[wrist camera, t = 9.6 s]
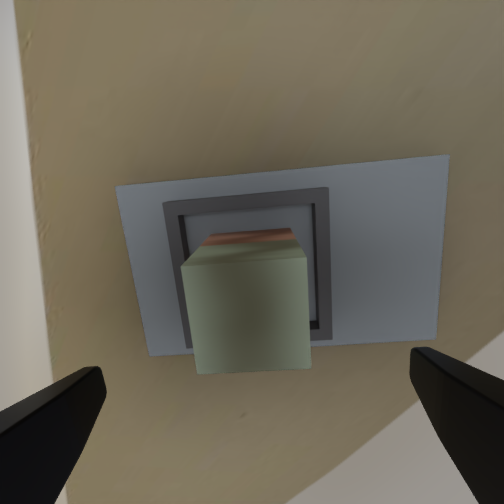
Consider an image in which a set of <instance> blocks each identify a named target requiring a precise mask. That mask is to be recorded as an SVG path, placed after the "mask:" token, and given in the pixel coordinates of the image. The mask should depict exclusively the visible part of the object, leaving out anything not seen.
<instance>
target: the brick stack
mask: <svg viewBox="0 0 504 504" xmlns="http://www.w3.org/2000/svg"><path fill="white" fill-rule="evenodd" d="M181 272H182V279H183V285H184V292H185V298H186V305H187V311H188V318H189V324H190V330H191V337H192V343H193V350H194V356H195V363H196V369H197V374H217V373H236V372H255V371H275V370H294V369H311V349H310V325H309V301H308V276H307V257H306V255H305V253H304V252H303V250H302V248H301V246H300V245H299V243H298V241H297V239H296V237H295V236H294V234H293V232H292V230H291V228H279V229H266V230H254V231H241V232H228V233H216V234H211V235H210V236H209V237H208V238H207V239H206V240H205V241H204V242H203V243H202V244H201V245H200V246H199V247H198V249H197V250H196V251H195V252H194V253H193V254H192V255H191V256H190V257H189V258H188V259H187V260H186V261H185V262H184V264H183V265H182V266H181Z"/></svg>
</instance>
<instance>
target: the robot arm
mask: <svg viewBox="0 0 504 504" xmlns="http://www.w3.org/2000/svg"><path fill="white" fill-rule="evenodd" d="M410 379H411V382H412V384H413V386H414V388H415V390H416V393H417V395H418V397H419V399H420V401H421V403H422V405H423V407H424V409H425V411H426V413H427V415H428V417H429V419H430V421H431V423H432V425H433V427H434V429H435V431H436V433H437V435H438V437H439V439H440V441H441V442H442V444H443V446H444V447H445V449H446V450H447V452H448V454H449V455H450V457H451V459H452V460H453V462H454V464H455V465H456V467H457V469H458V470H459V472H460V473H461V475H462V477H463V478H464V480H465V482H466V483H467V485H468V487H469V488H470V490H471V492H472V493H473V495H474V496H475V498H476V500H477V501H478V503H479V504H504V380H502V379H500V378H497V377H495V376H493V375H490V374H488V373H486V372H483V371H481V370H479V369H477V368H475V367H472V366H470V365H468V364H466V363H463V362H461V361H459V360H457V359H454V358H452V357H450V356H448V355H445V354H443V353H441V352H439V351H436V350H434V349H432V348H430V347H414V348H412V349H411V353H410ZM106 393H107V390H106V385H105V381H104V377H103V374H102V370H101V368H100V367H98V366H92V367H84V368H82V369H80V370H78V371H76V372H74V373H72V374H70V375H69V376H67V377H65V378H63V379H61V380H59V381H57V382H55V383H53V384H52V385H50V386H48V387H46V388H44V389H42V390H40V391H38V392H36V393H35V394H33V395H31V396H29V397H27V398H25V399H23V400H22V401H20V402H18V403H16V404H14V405H12V406H10V407H8V408H6V409H4V410H2V411H1V412H0V504H55V502H56V500H57V498H58V496H59V494H60V492H61V490H62V489H63V487H64V485H65V483H66V481H67V479H68V478H69V476H70V474H71V472H72V470H73V468H74V466H75V465H76V463H77V461H78V459H79V457H80V455H81V453H82V451H83V449H84V447H85V444H86V442H87V440H88V438H89V435H90V433H91V431H92V428H93V426H94V424H95V422H96V419H97V417H98V415H99V412H100V410H101V408H102V405H103V403H104V401H105V398H106Z"/></svg>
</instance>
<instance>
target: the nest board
mask: <svg viewBox="0 0 504 504" xmlns="http://www.w3.org/2000/svg"><path fill="white" fill-rule="evenodd" d="M449 157H450V154H447V155H436V156H426V157H415V158H405V159H395V160H384V161H374V162H363V163H353V164H342V165H332V166H321V167H311V168H300V169H290V170H279V171H269V172H258V173H248V174H238V175H227V176H217V177H206V178H196V179H185V180H175V181H164V182H154V183H143V184H133V185H122V186H115V190H116V195H117V200H118V205H119V210H120V215H121V220H122V225H123V230H124V234H125V239H126V244H127V249H128V254H129V259H130V264H131V269H132V274H133V279H134V283H135V288H136V293H137V298H138V303H139V308H140V313H141V318H142V323H143V328H144V333H145V337H146V342H147V347H148V352H149V356H166V355H182V354H194V350H193V343H192V337H191V330H190V324H189V318H188V311H187V305H186V298H185V292H184V285H183V279H182V272H181V266H182V265H183V264H184V262H185V261H186V260H187V259H188V258H189V257H190V256H191V255H192V254H193V253H194V252H195V251H196V250H197V249H198V247H199V246H200V245H201V244H202V243H203V242H204V241H205V240H206V239H207V238H208V237H209V236H210V235H211V234H216V233H228V232H241V231H254V230H266V229H279V228H291V230H292V232H293V234H294V236H295V237H296V239H297V241H298V243H299V245H300V246H301V248H302V250H303V252H304V253H305V255H306V257H307V276H308V301H309V325H310V347H316V346H333V345H349V344H366V343H383V342H399V341H416V340H433V339H436V332H437V319H438V305H439V292H440V278H441V265H442V252H443V238H444V225H445V211H446V198H447V184H448V171H449Z"/></svg>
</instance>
